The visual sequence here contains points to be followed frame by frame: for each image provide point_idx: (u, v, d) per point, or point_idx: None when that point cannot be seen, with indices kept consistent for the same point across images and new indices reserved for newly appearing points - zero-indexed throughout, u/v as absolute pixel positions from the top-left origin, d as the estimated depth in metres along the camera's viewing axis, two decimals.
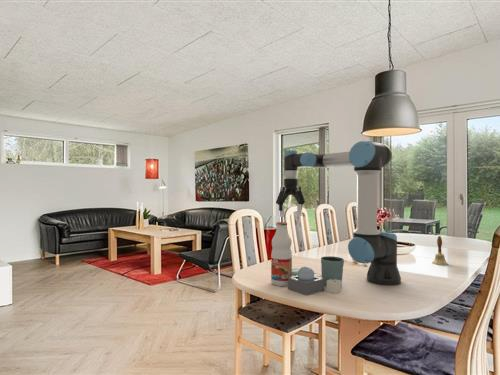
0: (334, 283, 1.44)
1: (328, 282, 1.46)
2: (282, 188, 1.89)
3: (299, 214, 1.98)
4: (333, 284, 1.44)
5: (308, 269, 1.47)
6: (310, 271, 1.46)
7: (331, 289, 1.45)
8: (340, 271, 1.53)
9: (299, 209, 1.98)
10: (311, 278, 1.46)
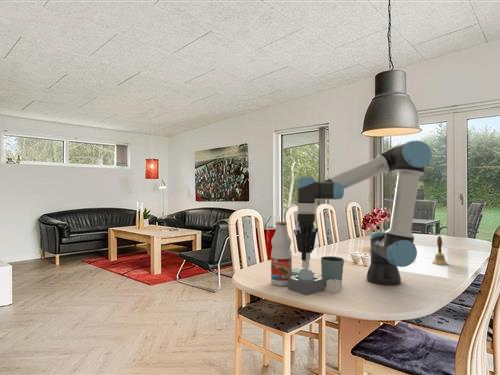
0: (334, 283, 1.44)
1: (328, 282, 1.46)
2: (296, 232, 1.45)
3: None
4: (333, 284, 1.44)
5: (308, 271, 1.47)
6: (310, 273, 1.46)
7: (331, 289, 1.45)
8: (340, 271, 1.53)
9: None
10: None
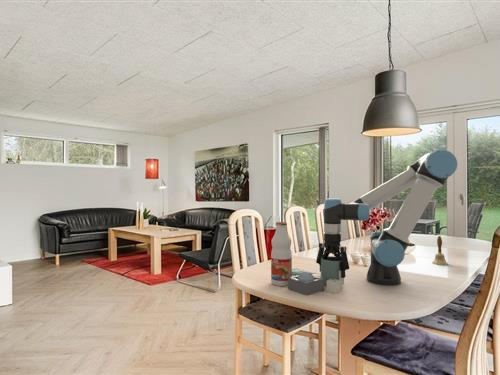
0: (334, 283, 1.44)
1: (328, 282, 1.46)
2: None
3: None
4: (333, 284, 1.44)
5: (308, 274, 1.47)
6: (310, 276, 1.46)
7: (331, 289, 1.45)
8: None
9: None
10: None
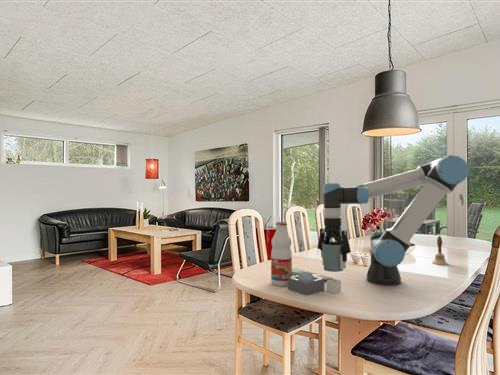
0: (334, 283, 1.44)
1: (328, 282, 1.46)
2: None
3: None
4: (333, 284, 1.44)
5: (308, 274, 1.47)
6: (310, 276, 1.46)
7: (331, 289, 1.45)
8: None
9: None
10: None
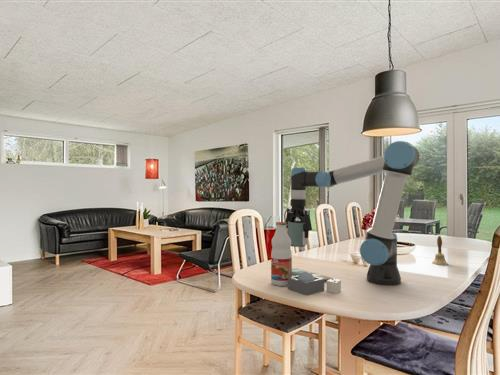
0: (334, 283, 1.44)
1: (328, 282, 1.46)
2: None
3: None
4: (333, 284, 1.44)
5: (308, 274, 1.47)
6: (310, 276, 1.46)
7: (331, 289, 1.45)
8: None
9: None
10: None
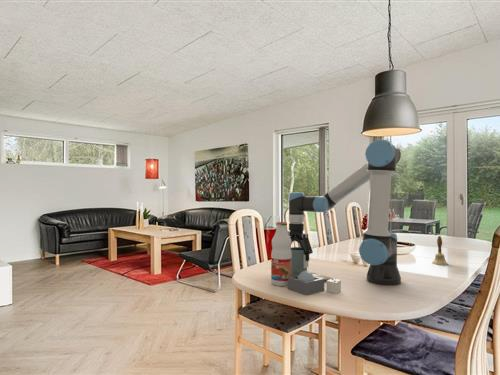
0: (334, 283, 1.44)
1: (328, 282, 1.46)
2: None
3: None
4: (333, 284, 1.44)
5: (308, 274, 1.47)
6: (310, 276, 1.46)
7: (331, 289, 1.45)
8: None
9: None
10: None
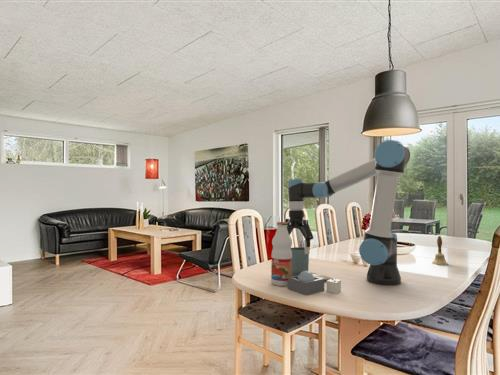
0: (334, 283, 1.44)
1: (328, 282, 1.46)
2: None
3: None
4: (333, 284, 1.44)
5: (308, 274, 1.47)
6: (310, 276, 1.46)
7: (331, 289, 1.45)
8: (306, 259, 1.69)
9: None
10: None
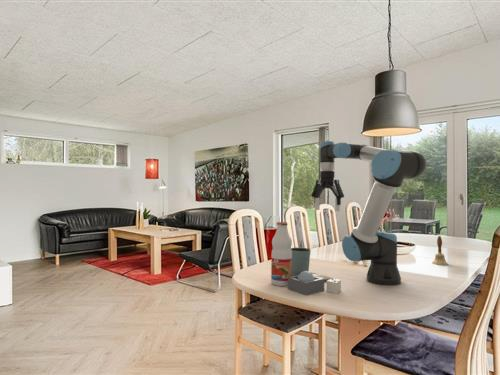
0: (334, 283, 1.44)
1: (328, 282, 1.46)
2: None
3: None
4: (333, 284, 1.44)
5: (308, 274, 1.47)
6: (310, 276, 1.46)
7: (331, 289, 1.45)
8: (306, 260, 1.69)
9: None
10: None
